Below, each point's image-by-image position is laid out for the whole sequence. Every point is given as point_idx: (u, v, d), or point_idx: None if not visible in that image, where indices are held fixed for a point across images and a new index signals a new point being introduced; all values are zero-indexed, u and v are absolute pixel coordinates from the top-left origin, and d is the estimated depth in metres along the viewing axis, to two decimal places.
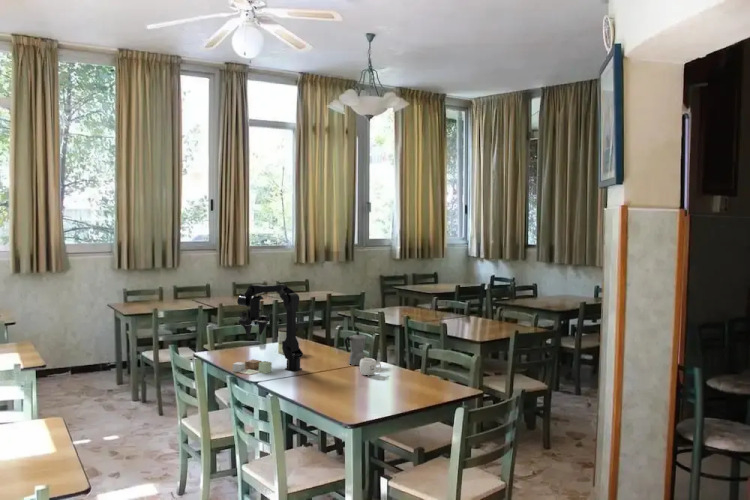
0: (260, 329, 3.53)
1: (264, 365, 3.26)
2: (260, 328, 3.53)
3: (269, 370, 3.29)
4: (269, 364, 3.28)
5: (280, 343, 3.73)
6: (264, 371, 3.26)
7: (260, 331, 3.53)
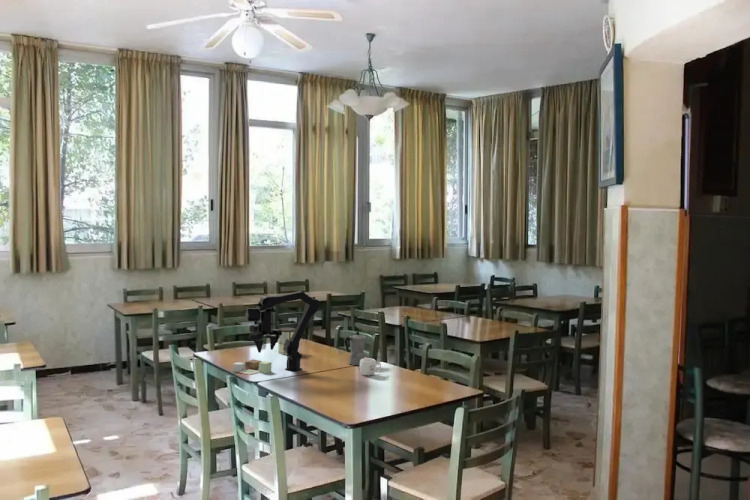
0: (272, 344, 3.32)
1: (264, 365, 3.26)
2: (272, 342, 3.32)
3: (269, 370, 3.29)
4: (269, 364, 3.28)
5: (280, 343, 3.73)
6: (264, 371, 3.26)
7: (272, 346, 3.32)
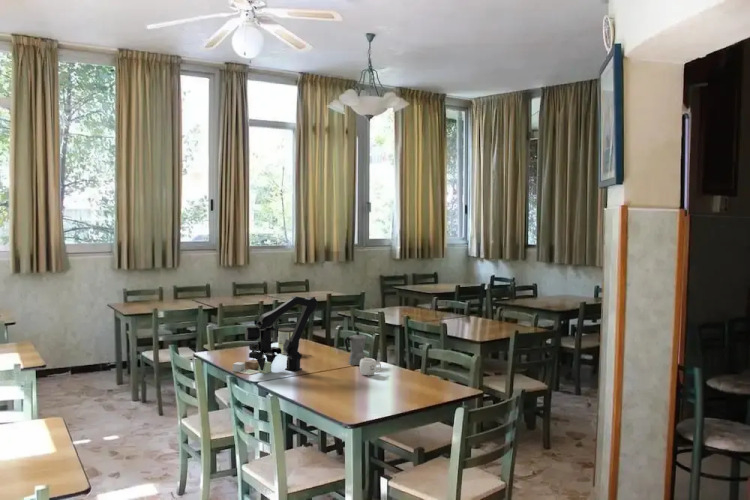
0: None
1: (264, 365, 3.26)
2: (268, 361, 3.31)
3: (269, 370, 3.29)
4: (269, 364, 3.28)
5: (280, 343, 3.73)
6: (264, 371, 3.26)
7: None
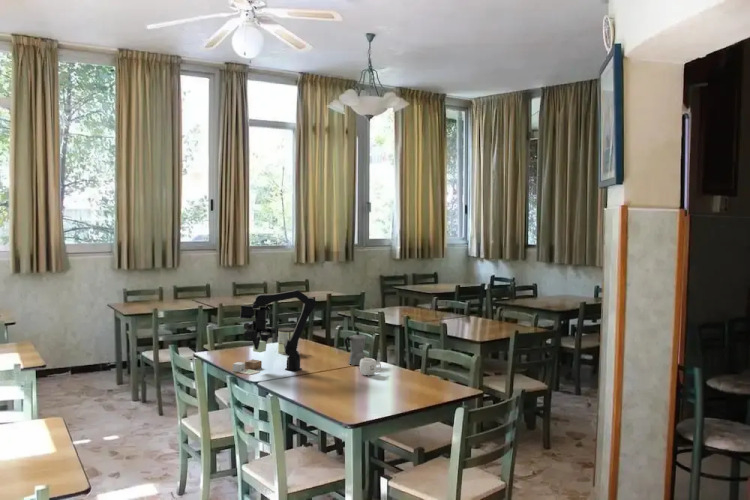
0: None
1: (259, 344, 3.29)
2: None
3: (263, 349, 3.31)
4: (264, 343, 3.31)
5: (280, 343, 3.73)
6: (259, 350, 3.29)
7: None
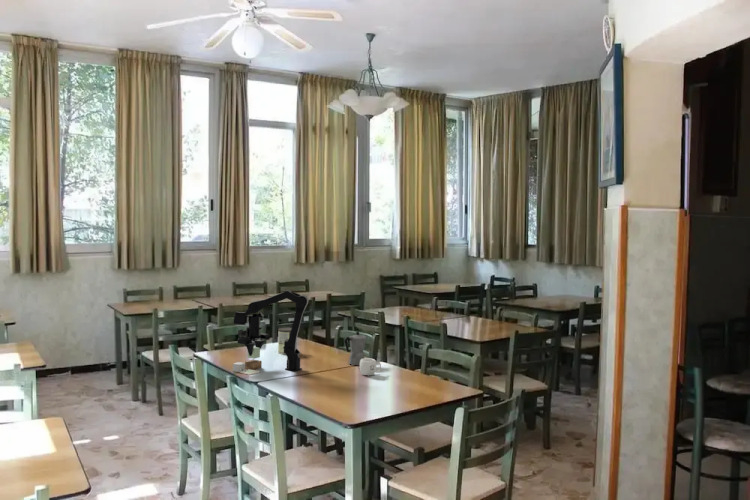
0: None
1: None
2: None
3: (257, 355, 3.35)
4: (257, 349, 3.35)
5: (280, 343, 3.73)
6: (252, 356, 3.33)
7: None
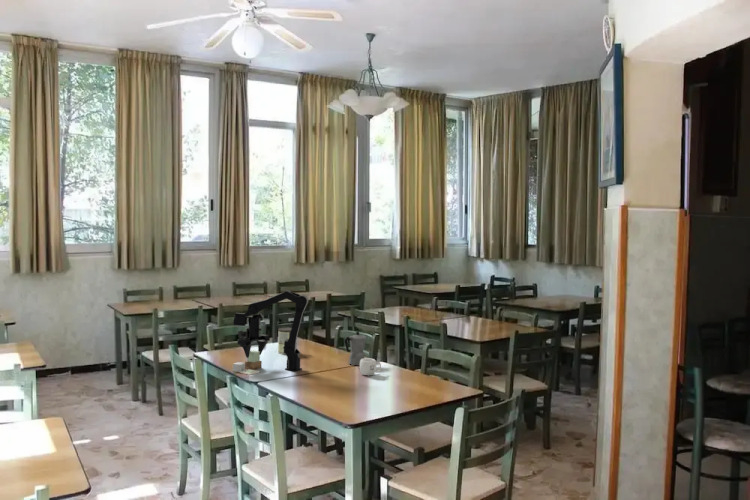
0: (259, 349, 3.40)
1: (252, 354, 3.33)
2: (259, 348, 3.40)
3: (257, 359, 3.36)
4: (257, 353, 3.35)
5: (280, 343, 3.73)
6: (252, 360, 3.33)
7: (259, 351, 3.39)
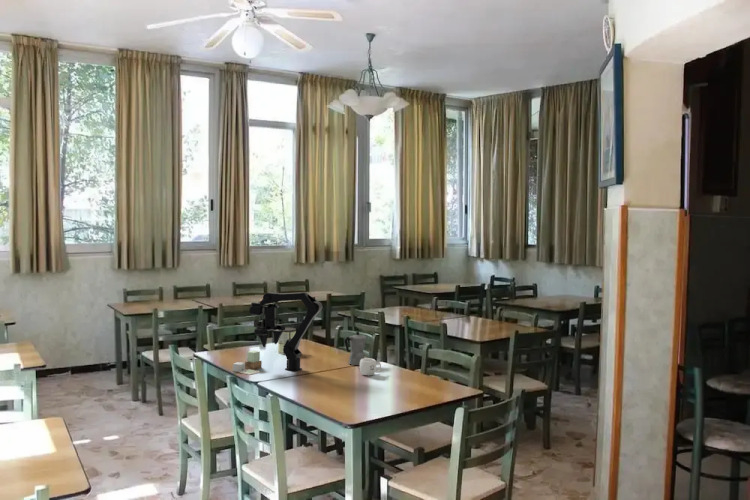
0: (275, 338, 3.42)
1: (252, 354, 3.33)
2: (275, 337, 3.42)
3: (257, 359, 3.35)
4: (257, 353, 3.35)
5: (280, 343, 3.73)
6: (252, 360, 3.33)
7: (275, 340, 3.42)
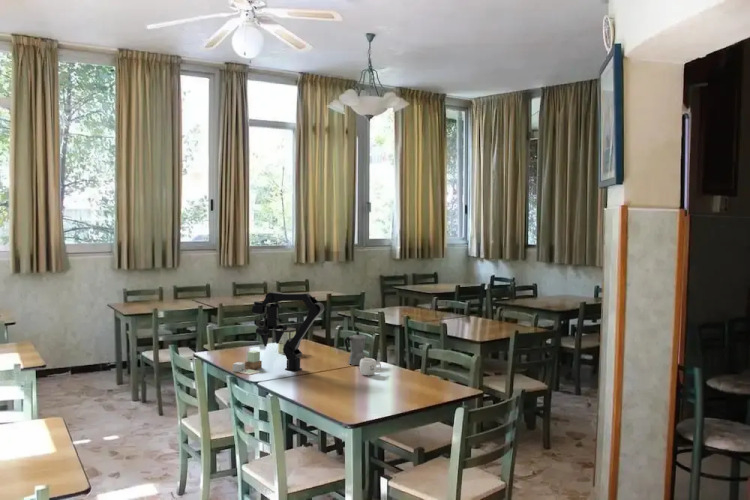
0: (277, 338, 3.42)
1: (252, 354, 3.33)
2: (277, 337, 3.42)
3: (257, 359, 3.35)
4: (257, 353, 3.35)
5: (280, 343, 3.73)
6: (252, 360, 3.33)
7: (277, 340, 3.42)
